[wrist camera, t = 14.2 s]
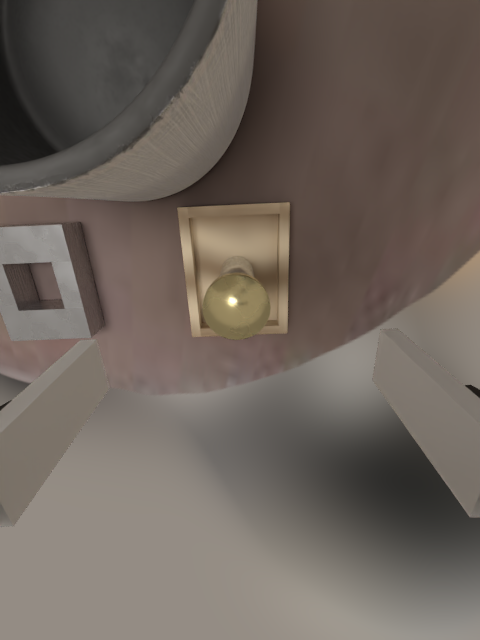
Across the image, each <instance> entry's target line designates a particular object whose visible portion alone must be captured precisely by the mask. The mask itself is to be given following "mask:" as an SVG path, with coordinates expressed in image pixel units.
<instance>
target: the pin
mask: <svg viewBox="0 0 480 640" xmlns="http://www.w3.org/2000/svg"><path fill="white" fill-rule="evenodd" d="M202 309H203V316H204V319H205V321H206V323H207V324H208V326H209V327H210V328H211V329H212V330H213V331H214V332H215V333H216V334H218V335H220V336H222V337H224V338H227V339H233V340H241V339H246V338H249V337H251V336H253V335H255V334H257V333H258V332H259V331H260V330H262V328H263V327H264V326H265V325H266V323H267V321H268V319H269V316H270V309H271V307H270V300H269V297H268V294H267V291H266V289H265V287H264V286H263V285H262V284H261V282H260V281H258V280H257V279H256V278H255V276H254V272H253V267H252V265H251V263H250V262H249V261H248V260H247V259H246V258H244V257H241V256H233V257H230V258H228V259H227V260H226V261H225V262H224V263H223V265H222V268H221V272H220V276H219V278H217V279H216V280H215V281H213V282H212V283H211V285H210V286H209V288H208V289H207V291H206V294H205V297H204V300H203V306H202Z"/></svg>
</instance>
